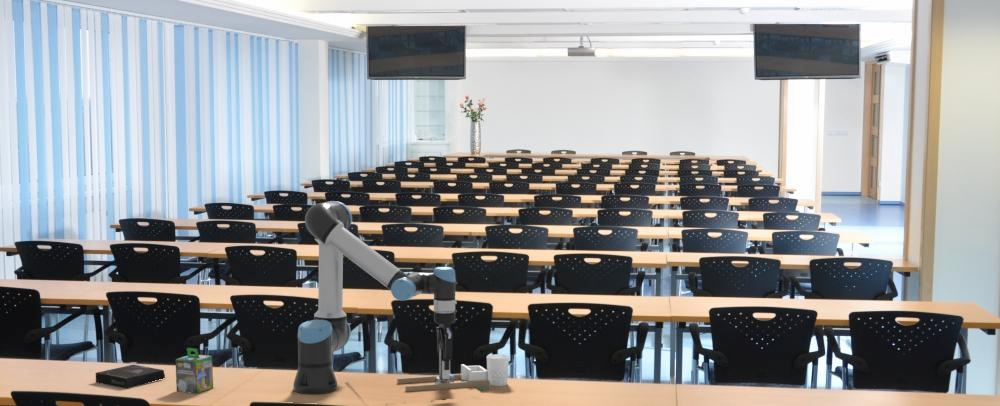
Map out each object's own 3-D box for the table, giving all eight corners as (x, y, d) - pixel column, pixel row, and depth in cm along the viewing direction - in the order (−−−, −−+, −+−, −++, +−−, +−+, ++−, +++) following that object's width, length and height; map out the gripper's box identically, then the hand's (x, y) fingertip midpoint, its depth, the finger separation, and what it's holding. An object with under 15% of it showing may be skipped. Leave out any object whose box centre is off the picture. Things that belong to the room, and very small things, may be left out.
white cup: (506, 387, 391) (506, 359, 390) (484, 386, 392) (484, 358, 392) (510, 382, 398) (510, 354, 398) (489, 381, 400) (489, 353, 399)
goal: (469, 386, 387) (469, 370, 387) (460, 380, 397) (460, 364, 396) (488, 385, 389) (488, 368, 389) (479, 378, 399) (479, 363, 398)
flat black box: (165, 380, 401) (164, 369, 401) (126, 389, 387) (126, 378, 386) (134, 374, 410) (134, 364, 410) (95, 383, 395) (95, 372, 395)
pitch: (406, 395, 378) (406, 386, 378) (397, 386, 391) (397, 378, 391) (489, 388, 388) (489, 380, 388) (478, 380, 400) (478, 372, 400)
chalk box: (213, 388, 387) (213, 346, 386) (196, 394, 379) (195, 351, 378) (193, 385, 391) (192, 344, 390) (175, 391, 383) (174, 349, 382)
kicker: (440, 386, 385) (440, 344, 384) (435, 382, 392) (435, 340, 391) (454, 385, 387) (455, 343, 386) (449, 381, 394) (449, 339, 393)
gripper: (461, 314, 381) (461, 381, 383) (448, 307, 396) (448, 372, 398) (440, 315, 379) (440, 383, 381) (428, 308, 394) (428, 373, 395)
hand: (444, 377), depth 389 cm, fingers closed on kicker, 3 cm apart
